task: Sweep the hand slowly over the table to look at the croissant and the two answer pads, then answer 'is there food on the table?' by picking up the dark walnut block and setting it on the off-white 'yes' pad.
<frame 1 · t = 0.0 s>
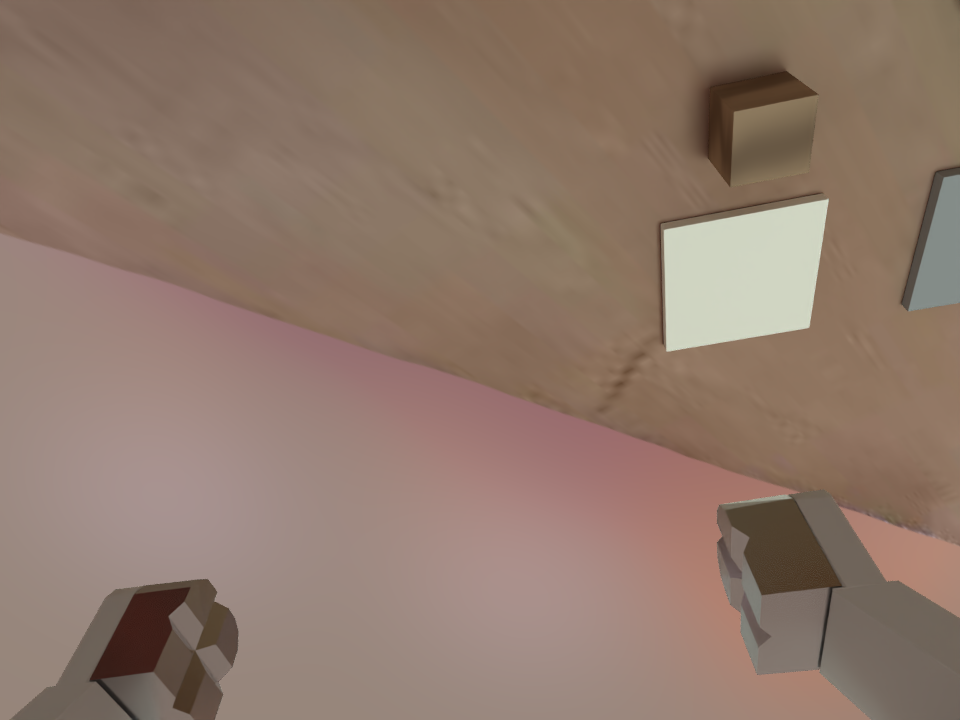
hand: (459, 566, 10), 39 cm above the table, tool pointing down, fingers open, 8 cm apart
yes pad: (736, 275, 53), on the table
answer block: (745, 116, 45), on the table
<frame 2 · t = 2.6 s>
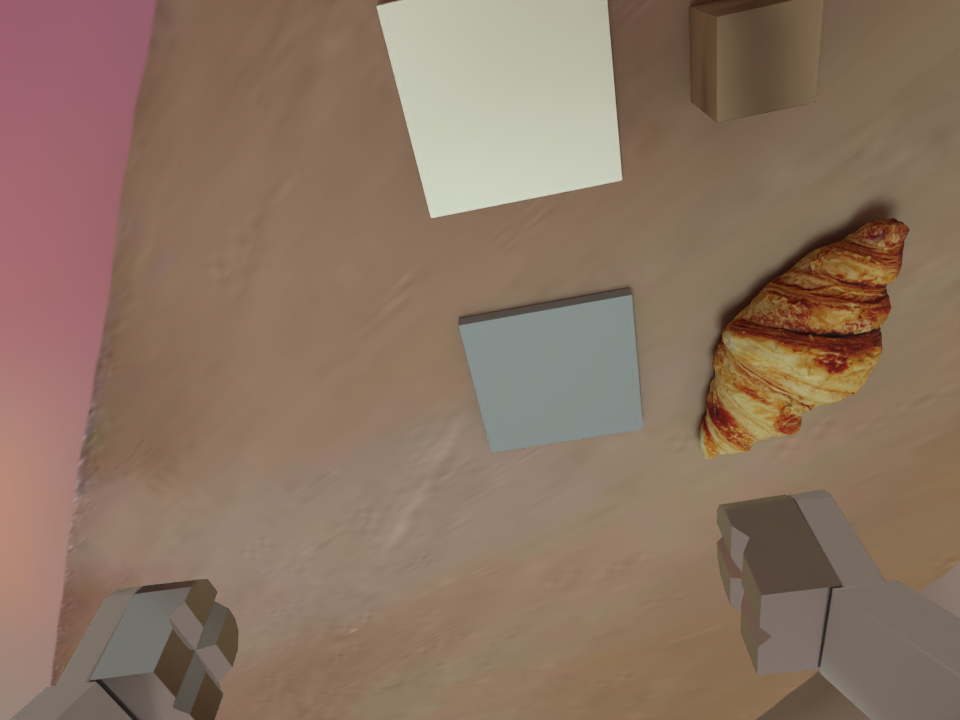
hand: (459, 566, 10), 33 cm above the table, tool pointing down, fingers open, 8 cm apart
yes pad: (507, 95, 38), on the table
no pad: (554, 372, 48), on the table
croissant: (774, 334, 47), on the table
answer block: (734, 46, 36), on the table
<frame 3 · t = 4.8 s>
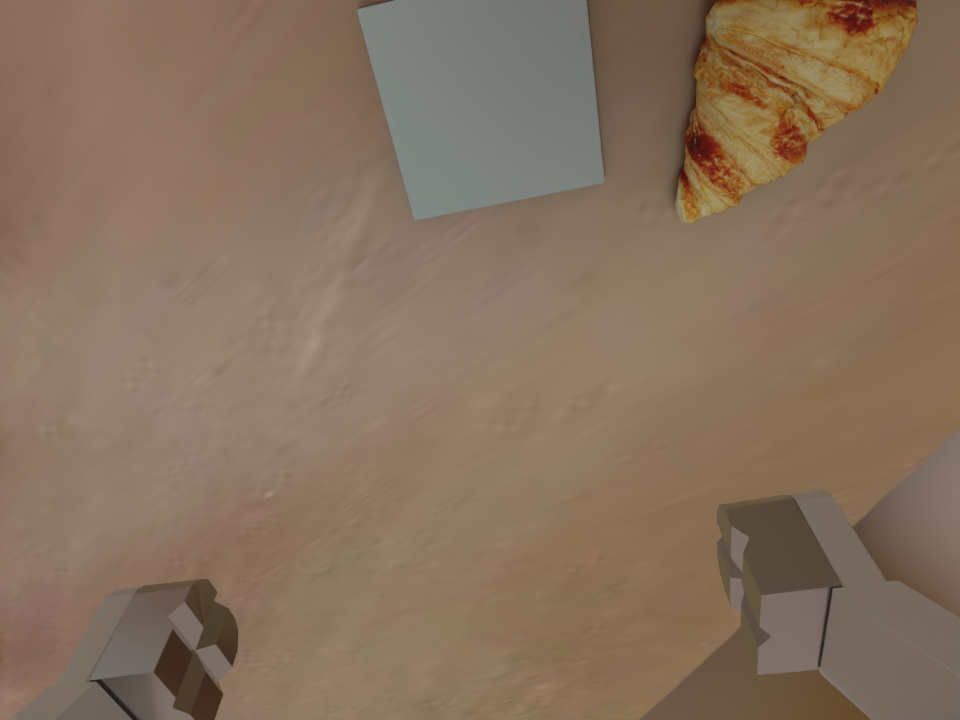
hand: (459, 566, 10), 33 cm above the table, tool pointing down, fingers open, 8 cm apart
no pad: (489, 98, 38), on the table
croissant: (772, 42, 37), on the table
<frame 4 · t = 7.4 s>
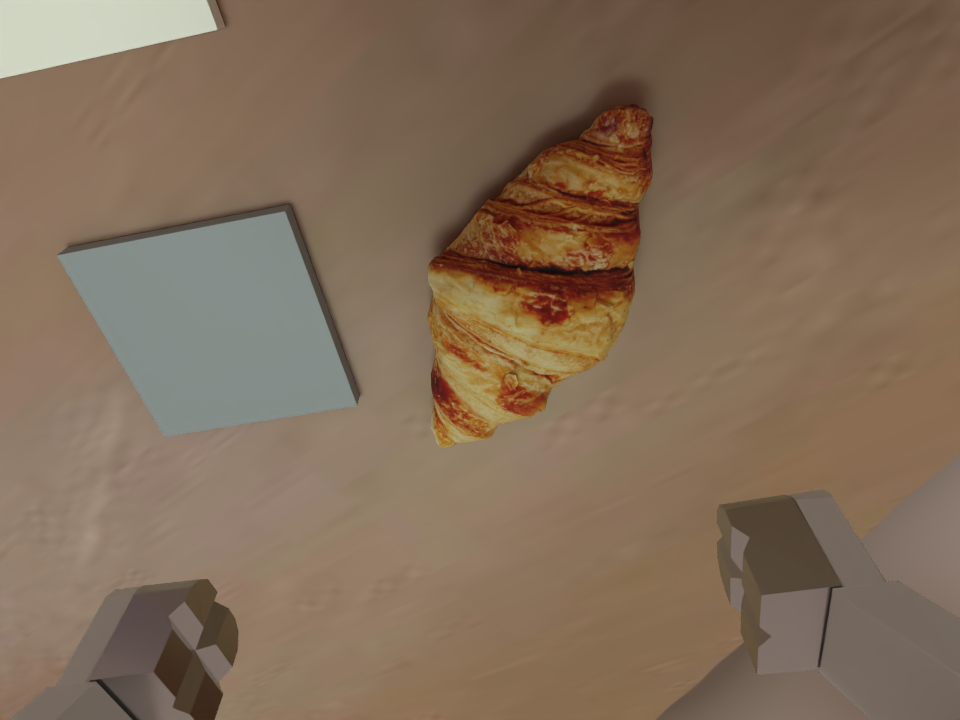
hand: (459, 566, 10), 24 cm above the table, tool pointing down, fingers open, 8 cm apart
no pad: (224, 327, 36), on the table
croissant: (518, 280, 35), on the table
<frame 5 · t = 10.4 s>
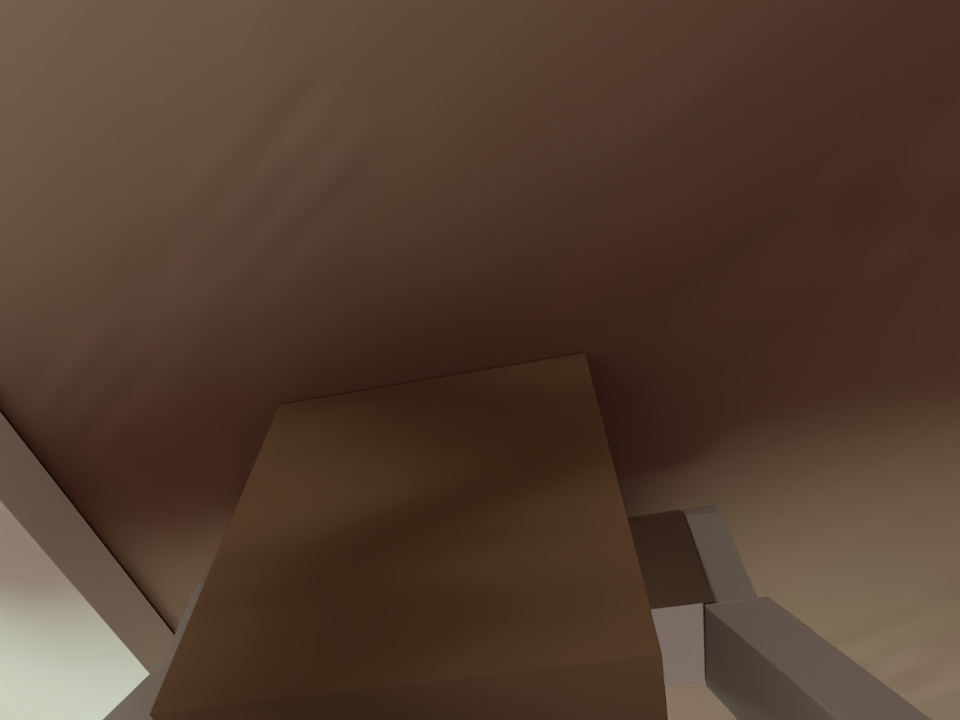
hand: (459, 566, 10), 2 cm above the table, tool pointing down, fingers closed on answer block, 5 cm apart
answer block: (462, 490, 12), on the table, touching gripper
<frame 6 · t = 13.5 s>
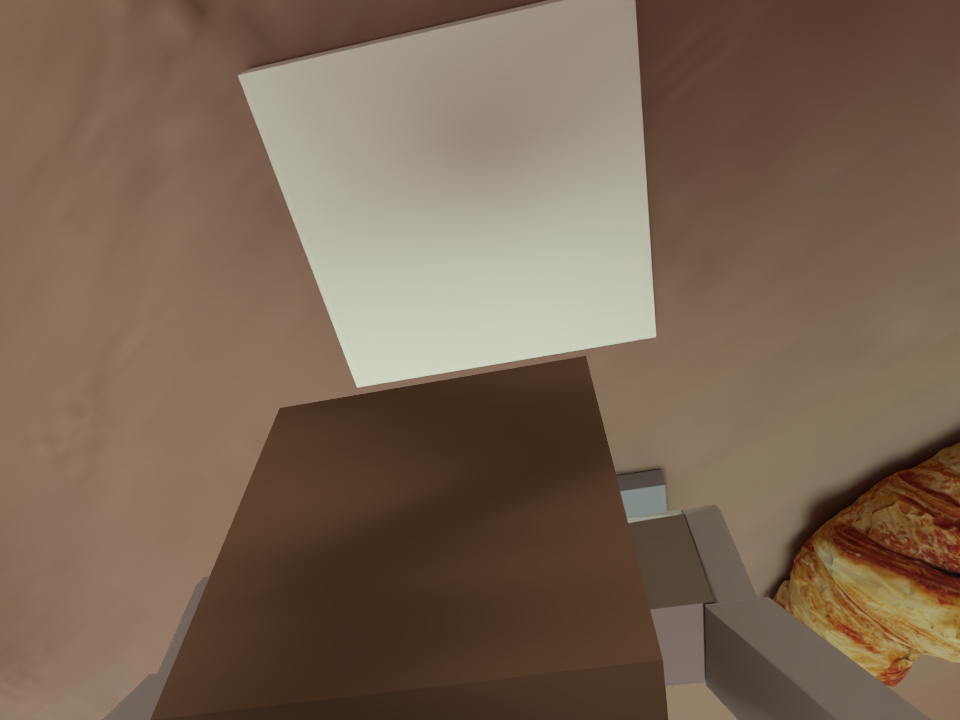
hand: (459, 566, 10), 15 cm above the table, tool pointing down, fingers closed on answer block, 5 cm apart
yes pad: (471, 210, 23), on the table
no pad: (550, 568, 34), on the table
croissant: (877, 531, 33), on the table
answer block: (462, 493, 12), point 14 cm above the table, touching gripper
when the fingers open (4 cm above the table, at t = 15.9 s): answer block stays where it is, resting on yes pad.
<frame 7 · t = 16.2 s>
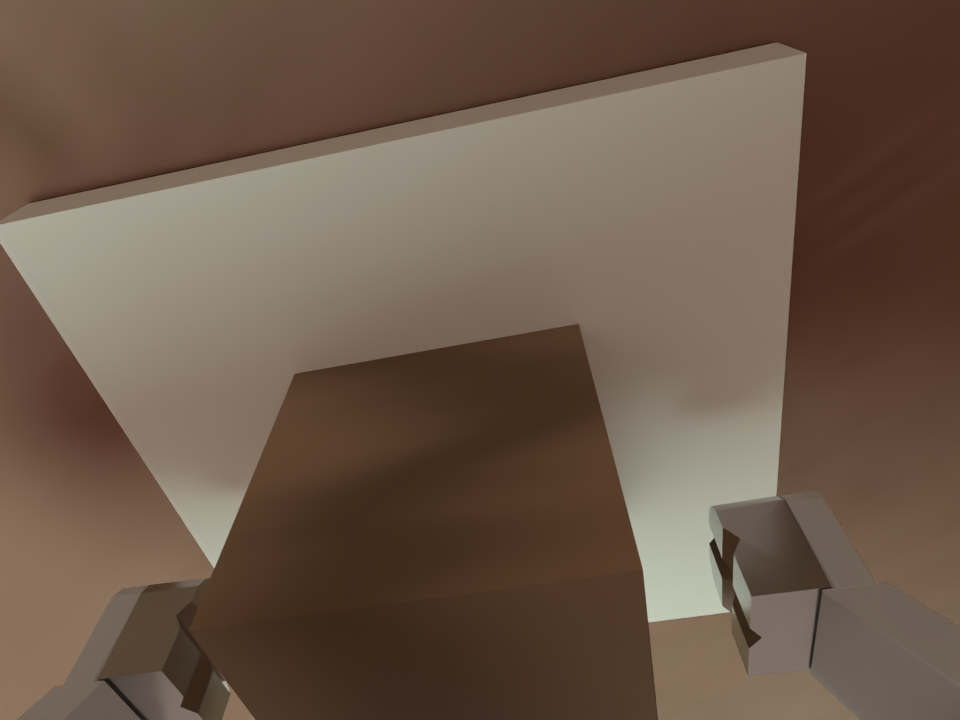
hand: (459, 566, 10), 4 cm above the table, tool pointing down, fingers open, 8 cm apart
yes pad: (461, 423, 13), on the table
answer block: (464, 456, 12), point 1 cm above the table, touching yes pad
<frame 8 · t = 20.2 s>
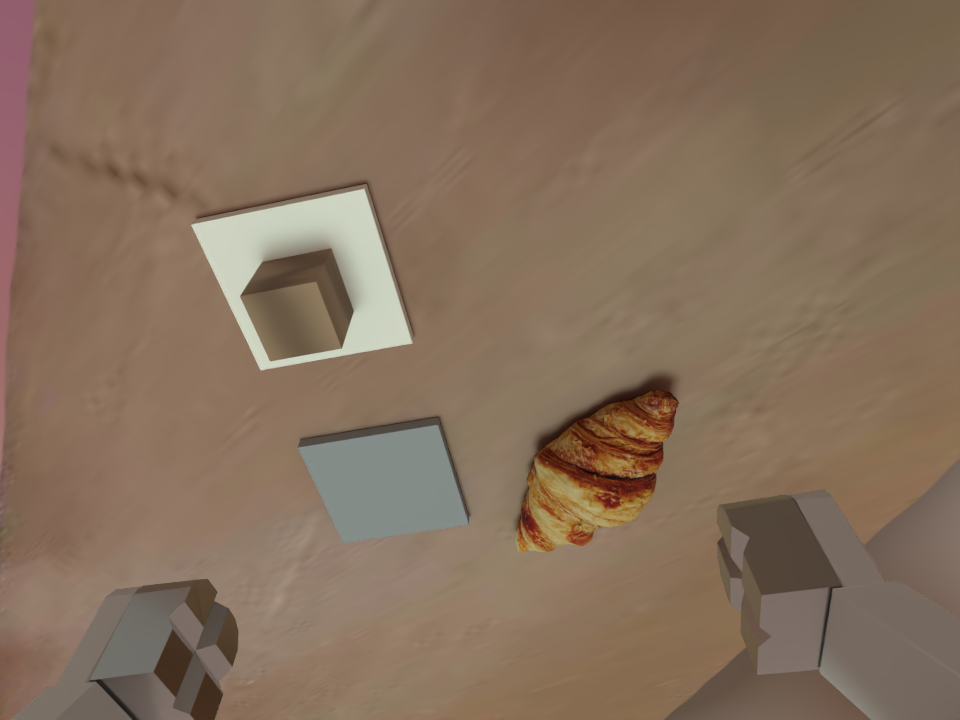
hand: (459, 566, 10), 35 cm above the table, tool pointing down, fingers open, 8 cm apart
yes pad: (311, 280, 46), on the table
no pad: (388, 479, 57), on the table
croissant: (582, 458, 57), on the table
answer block: (309, 287, 46), point 1 cm above the table, touching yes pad
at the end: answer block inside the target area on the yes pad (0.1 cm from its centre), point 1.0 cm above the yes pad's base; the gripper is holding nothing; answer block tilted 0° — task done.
